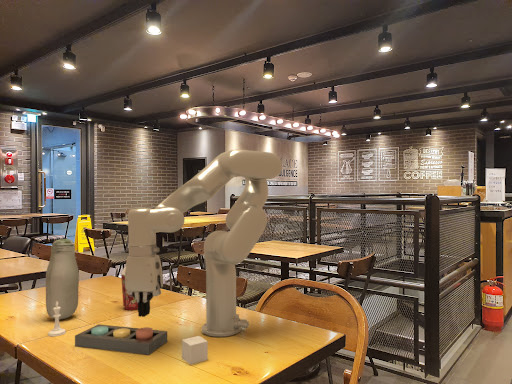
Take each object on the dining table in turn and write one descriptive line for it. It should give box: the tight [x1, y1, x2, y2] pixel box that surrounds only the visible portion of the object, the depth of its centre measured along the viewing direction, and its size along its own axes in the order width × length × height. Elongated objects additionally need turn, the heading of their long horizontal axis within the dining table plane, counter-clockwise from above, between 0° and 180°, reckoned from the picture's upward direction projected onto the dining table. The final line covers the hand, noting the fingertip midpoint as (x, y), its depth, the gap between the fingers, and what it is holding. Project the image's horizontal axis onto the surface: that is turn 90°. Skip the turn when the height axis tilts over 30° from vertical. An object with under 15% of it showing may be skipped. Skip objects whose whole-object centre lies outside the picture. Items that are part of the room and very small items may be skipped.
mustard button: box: [113, 328, 130, 338], centre depth 110 cm, size 5×5×3 cm
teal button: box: [91, 326, 108, 336], centre depth 112 cm, size 5×5×3 cm
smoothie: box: [120, 265, 138, 311], centre depth 146 cm, size 8×8×20 cm
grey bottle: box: [45, 238, 80, 321], centre depth 134 cm, size 10×10×28 cm
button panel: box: [74, 323, 168, 356], centre depth 110 cm, size 24×10×3 cm, turn 74°
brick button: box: [136, 326, 154, 341], centre depth 108 cm, size 5×5×3 cm
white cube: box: [181, 335, 209, 366], centre depth 99 cm, size 5×5×5 cm
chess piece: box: [47, 301, 66, 337], centre depth 119 cm, size 5×5×10 cm
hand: (144, 315), depth 108 cm, fingers closed
